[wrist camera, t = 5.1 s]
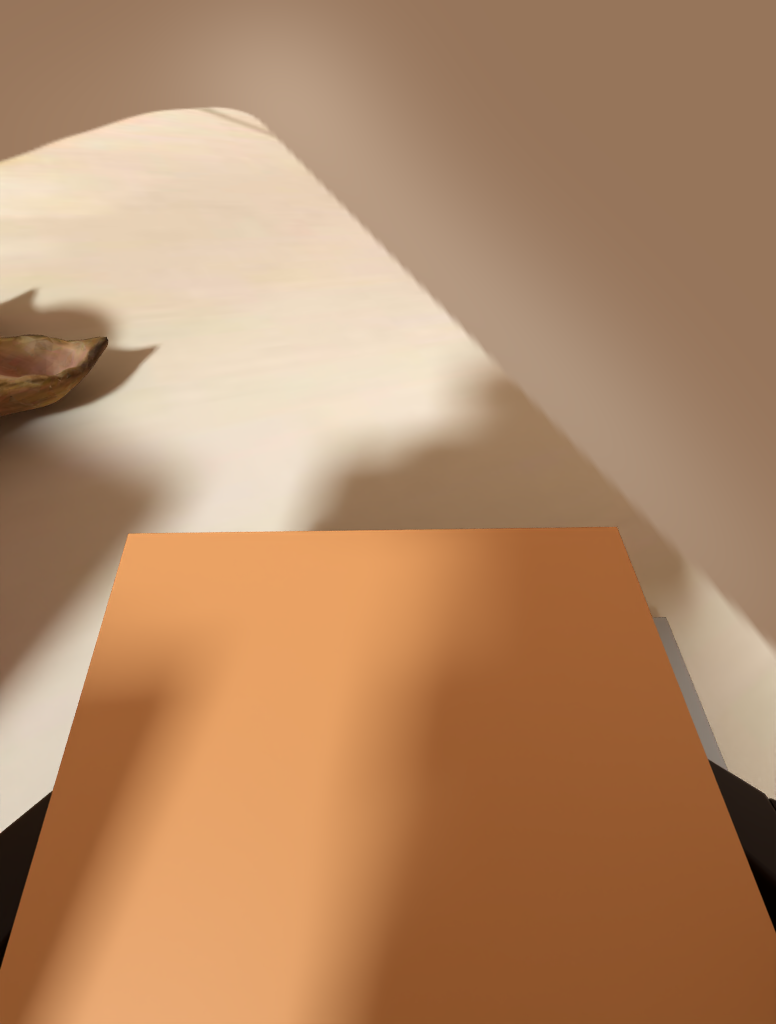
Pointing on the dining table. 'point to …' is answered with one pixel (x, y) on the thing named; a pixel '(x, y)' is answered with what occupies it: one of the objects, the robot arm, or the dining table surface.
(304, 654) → the orange box
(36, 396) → the ceramic sculpture
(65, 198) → the dining table surface
